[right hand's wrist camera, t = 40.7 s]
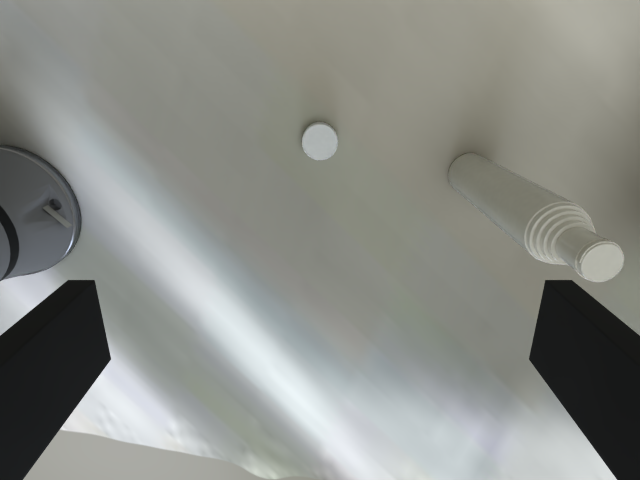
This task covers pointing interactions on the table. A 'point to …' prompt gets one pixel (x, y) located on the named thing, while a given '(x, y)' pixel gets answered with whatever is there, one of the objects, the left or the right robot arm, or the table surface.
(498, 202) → the bottle
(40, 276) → the table surface
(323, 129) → the cap
